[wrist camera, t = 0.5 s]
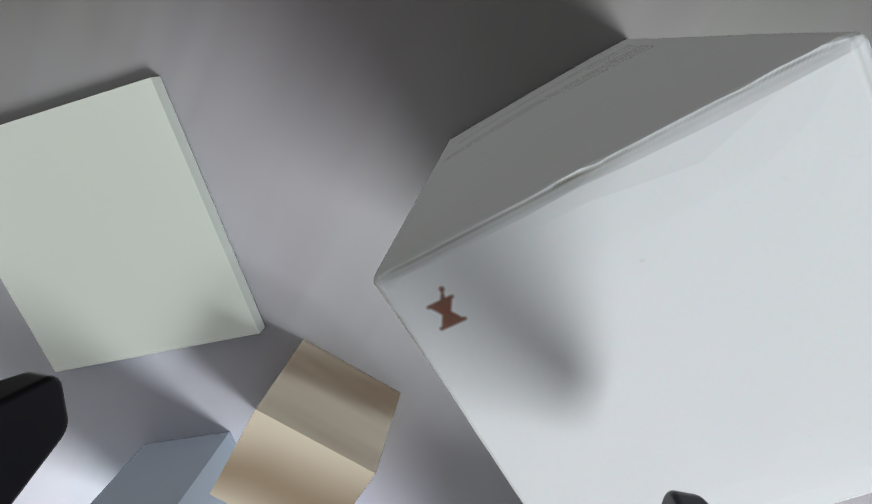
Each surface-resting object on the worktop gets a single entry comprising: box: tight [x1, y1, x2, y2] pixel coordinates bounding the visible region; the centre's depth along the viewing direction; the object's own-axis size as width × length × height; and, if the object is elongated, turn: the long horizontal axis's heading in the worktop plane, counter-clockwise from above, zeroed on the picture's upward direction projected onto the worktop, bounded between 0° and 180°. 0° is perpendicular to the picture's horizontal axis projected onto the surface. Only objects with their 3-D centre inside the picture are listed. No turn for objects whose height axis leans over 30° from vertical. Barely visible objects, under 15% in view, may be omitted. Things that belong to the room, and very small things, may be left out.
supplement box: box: [374, 32, 872, 504], centre depth 14 cm, size 7×7×13 cm
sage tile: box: [0, 77, 265, 372], centre depth 23 cm, size 11×11×1 cm
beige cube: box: [210, 339, 400, 504], centre depth 23 cm, size 5×5×5 cm
